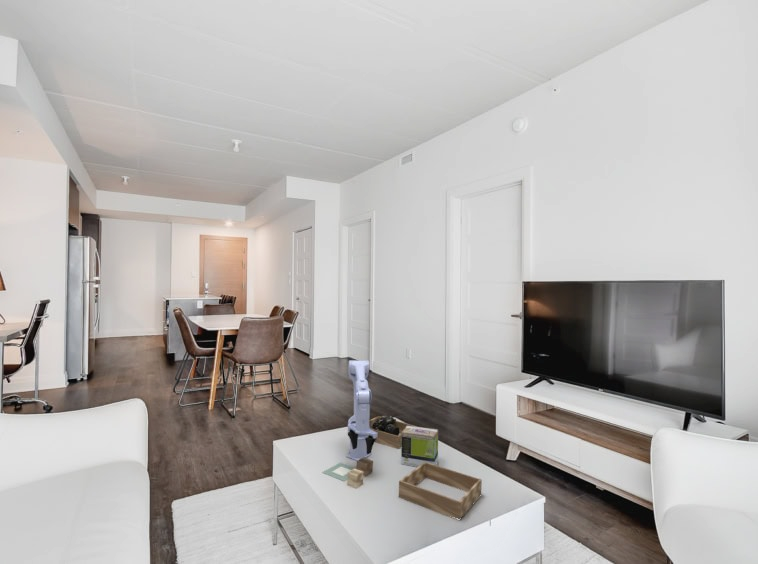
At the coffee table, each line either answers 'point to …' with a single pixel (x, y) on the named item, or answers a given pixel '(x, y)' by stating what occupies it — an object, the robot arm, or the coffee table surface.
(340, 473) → the build mat
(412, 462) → the tea box
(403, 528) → the coffee table surface
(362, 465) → the walnut block
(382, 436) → the camera crate
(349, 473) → the maple block
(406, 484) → the box
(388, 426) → the film camera
